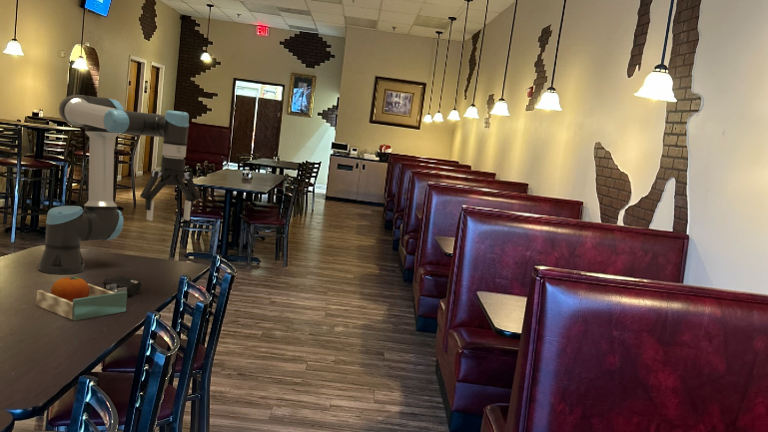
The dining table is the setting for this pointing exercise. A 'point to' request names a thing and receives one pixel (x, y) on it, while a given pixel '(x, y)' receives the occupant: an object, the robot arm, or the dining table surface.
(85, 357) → the dining table surface
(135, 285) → the rock
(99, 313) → the bay
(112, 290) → the dark grey bracket
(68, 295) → the fruit
